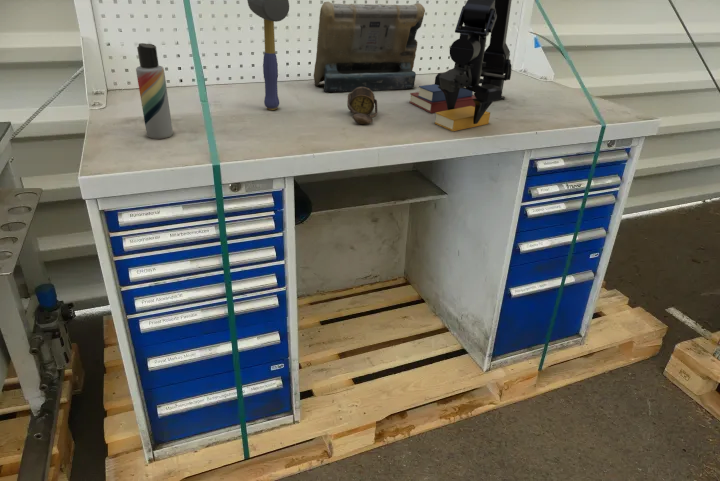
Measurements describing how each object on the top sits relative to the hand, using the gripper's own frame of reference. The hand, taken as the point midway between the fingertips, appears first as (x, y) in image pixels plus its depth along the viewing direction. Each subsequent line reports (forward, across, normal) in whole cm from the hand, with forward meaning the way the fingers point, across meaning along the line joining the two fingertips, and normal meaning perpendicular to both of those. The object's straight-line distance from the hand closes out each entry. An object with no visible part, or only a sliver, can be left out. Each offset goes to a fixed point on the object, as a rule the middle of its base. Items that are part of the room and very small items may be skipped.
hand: (462, 118), depth 138 cm
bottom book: (+1, -15, +8) cm, 17 cm away
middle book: (-1, -14, +7) cm, 16 cm away
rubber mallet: (+2, -33, -38) cm, 51 cm away
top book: (+1, 0, 0) cm, 1 cm away
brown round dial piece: (+2, -17, -21) cm, 27 cm away
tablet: (+2, -42, -1) cm, 42 cm away
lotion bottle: (+2, -27, -70) cm, 75 cm away
